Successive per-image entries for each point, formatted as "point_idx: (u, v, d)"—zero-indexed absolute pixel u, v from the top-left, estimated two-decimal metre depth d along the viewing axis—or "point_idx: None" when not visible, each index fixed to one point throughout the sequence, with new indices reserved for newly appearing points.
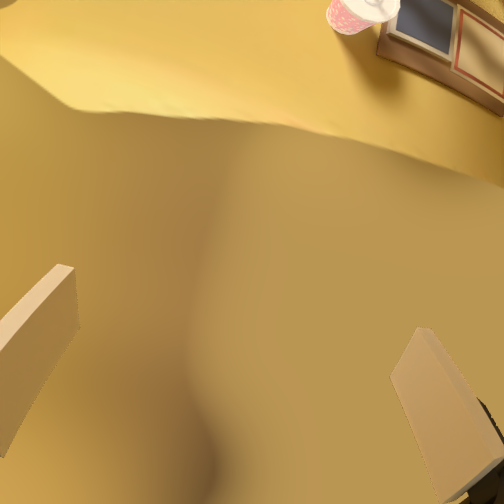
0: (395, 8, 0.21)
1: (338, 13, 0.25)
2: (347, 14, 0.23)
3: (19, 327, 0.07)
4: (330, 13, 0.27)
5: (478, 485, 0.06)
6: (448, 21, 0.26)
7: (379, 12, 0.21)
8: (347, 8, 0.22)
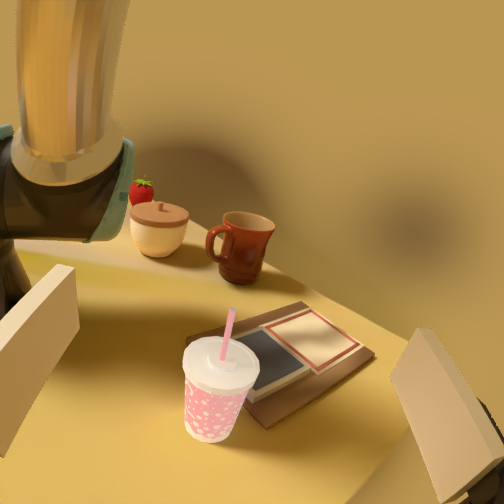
0: (251, 355, 0.26)
1: (209, 414, 0.24)
2: (221, 402, 0.23)
3: (19, 327, 0.07)
4: (197, 426, 0.25)
5: (478, 485, 0.06)
6: (272, 343, 0.39)
7: (245, 370, 0.24)
8: (219, 392, 0.22)
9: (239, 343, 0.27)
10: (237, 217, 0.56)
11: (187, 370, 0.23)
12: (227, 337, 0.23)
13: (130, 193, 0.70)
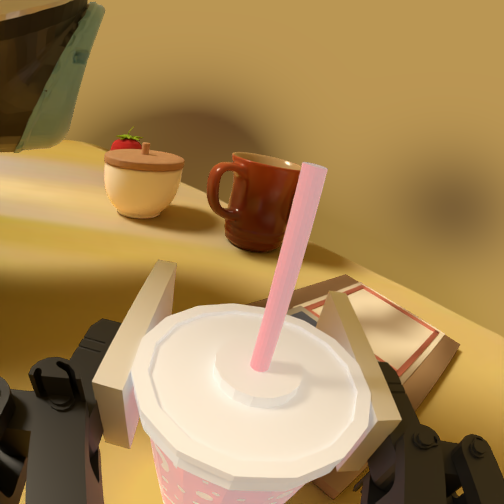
0: (334, 350, 0.09)
1: None
2: (258, 499, 0.06)
3: (151, 319, 0.09)
4: None
5: (376, 454, 0.07)
6: None
7: (332, 396, 0.07)
8: (261, 484, 0.05)
9: (297, 321, 0.10)
10: (252, 160, 0.39)
11: (142, 407, 0.06)
12: (287, 285, 0.06)
13: (112, 149, 0.53)
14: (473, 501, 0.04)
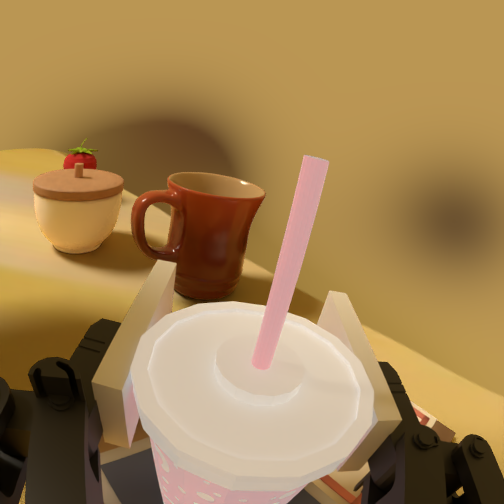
0: (336, 348, 0.09)
1: None
2: (260, 500, 0.06)
3: (151, 319, 0.09)
4: None
5: (376, 454, 0.07)
6: None
7: (335, 394, 0.07)
8: (264, 484, 0.05)
9: (298, 319, 0.10)
10: (199, 182, 0.31)
11: (141, 405, 0.06)
12: (289, 280, 0.06)
13: (64, 165, 0.45)
14: (473, 501, 0.04)
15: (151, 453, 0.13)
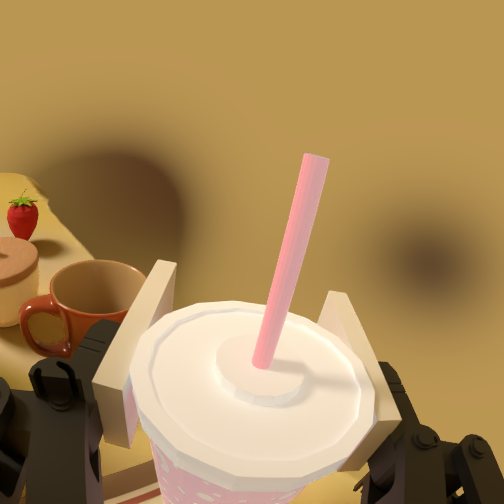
0: (336, 348, 0.09)
1: None
2: (261, 500, 0.06)
3: (151, 319, 0.09)
4: None
5: (376, 454, 0.07)
6: None
7: (335, 393, 0.07)
8: (264, 485, 0.05)
9: (298, 318, 0.10)
10: (94, 271, 0.28)
11: (141, 405, 0.06)
12: (289, 279, 0.06)
13: (7, 217, 0.41)
14: (473, 501, 0.04)
15: None
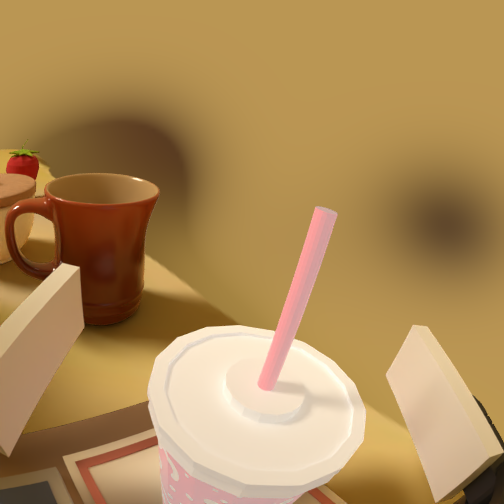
0: (332, 371, 0.10)
1: None
2: None
3: (25, 326, 0.07)
4: None
5: (474, 483, 0.06)
6: None
7: (331, 413, 0.08)
8: (269, 492, 0.06)
9: (298, 343, 0.11)
10: (97, 184, 0.24)
11: (160, 422, 0.06)
12: (296, 316, 0.07)
13: (6, 169, 0.38)
14: None
15: None
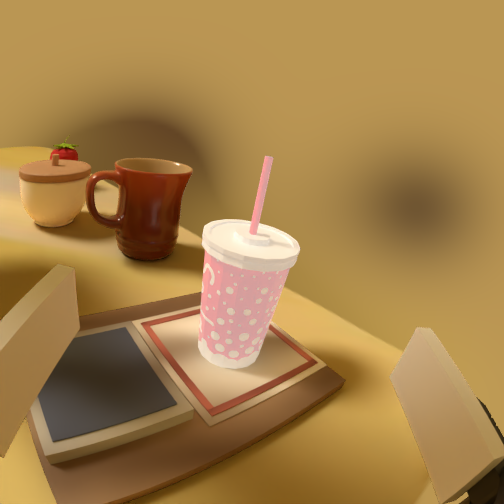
0: (286, 236, 0.22)
1: (235, 313, 0.19)
2: (253, 288, 0.19)
3: (19, 327, 0.07)
4: (216, 339, 0.21)
5: (478, 485, 0.06)
6: (132, 353, 0.19)
7: (283, 247, 0.20)
8: (253, 264, 0.18)
9: (270, 227, 0.23)
10: (146, 166, 0.37)
11: (209, 240, 0.18)
12: (261, 196, 0.19)
13: (50, 159, 0.51)
14: None
15: None
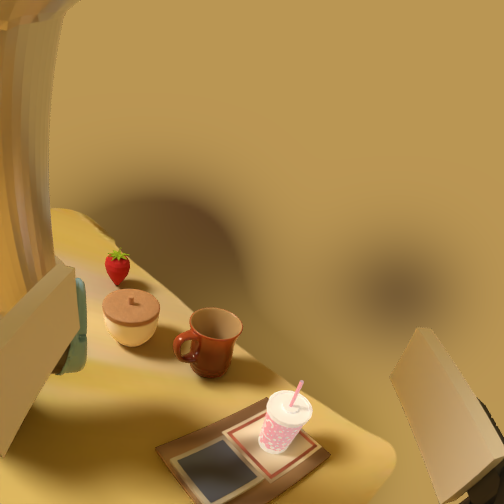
0: (305, 401, 0.40)
1: (281, 438, 0.38)
2: (291, 431, 0.37)
3: (19, 328, 0.07)
4: (271, 445, 0.39)
5: (478, 485, 0.06)
6: (231, 454, 0.38)
7: (304, 411, 0.39)
8: (292, 426, 0.36)
9: (297, 393, 0.41)
10: (206, 314, 0.55)
11: (272, 415, 0.37)
12: (296, 395, 0.38)
13: (106, 267, 0.69)
14: None
15: (195, 454, 0.37)
